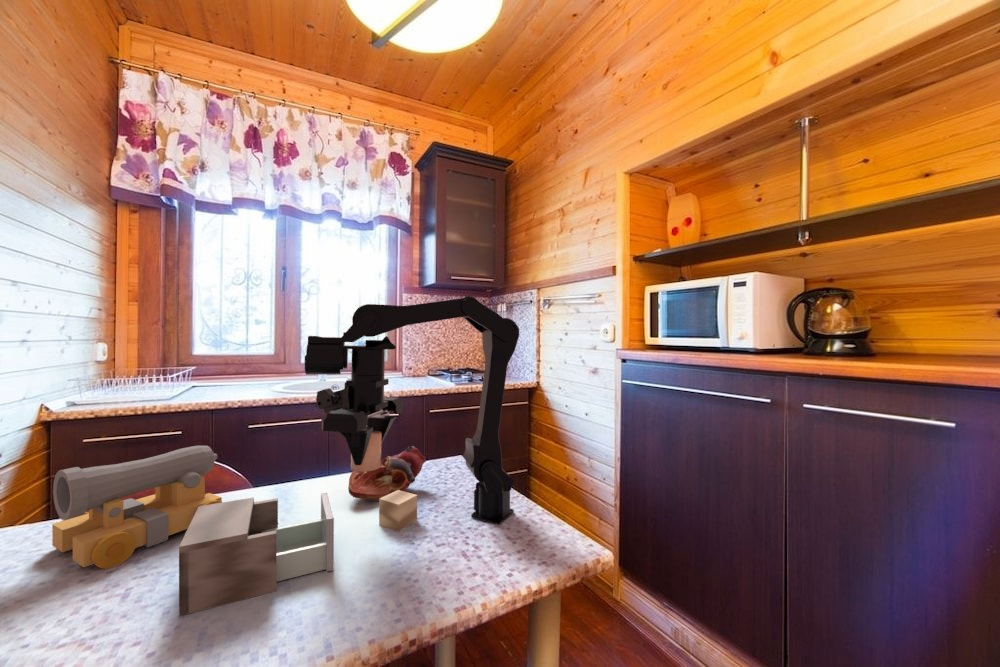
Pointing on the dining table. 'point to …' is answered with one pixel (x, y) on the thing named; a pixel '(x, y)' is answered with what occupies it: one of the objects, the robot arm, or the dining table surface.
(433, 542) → the dining table surface
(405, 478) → the anatomical model
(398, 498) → the block
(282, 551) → the drawer
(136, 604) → the dining table surface
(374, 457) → the tan rounded cylinder
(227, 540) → the housing
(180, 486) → the toy cannon
